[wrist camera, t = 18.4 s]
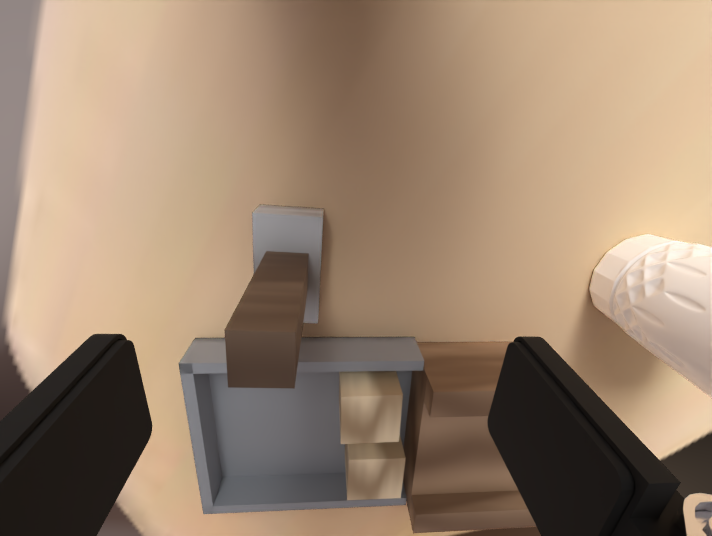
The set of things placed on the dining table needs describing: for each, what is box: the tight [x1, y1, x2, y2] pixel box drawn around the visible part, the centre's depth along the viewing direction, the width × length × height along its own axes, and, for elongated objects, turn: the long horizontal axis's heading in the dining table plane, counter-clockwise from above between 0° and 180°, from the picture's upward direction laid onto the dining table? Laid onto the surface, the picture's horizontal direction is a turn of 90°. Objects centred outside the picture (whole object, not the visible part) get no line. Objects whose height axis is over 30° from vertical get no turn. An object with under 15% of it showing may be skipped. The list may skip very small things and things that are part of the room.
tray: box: [179, 337, 424, 514], centre depth 27 cm, size 14×16×3 cm
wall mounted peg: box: [225, 205, 324, 389], centre depth 18 cm, size 7×4×12 cm, turn 175°
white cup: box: [589, 234, 712, 398], centre depth 22 cm, size 8×8×10 cm
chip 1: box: [339, 371, 403, 444], centre depth 25 cm, size 4×4×4 cm
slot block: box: [403, 342, 537, 533], centre depth 27 cm, size 13×10×6 cm
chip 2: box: [345, 435, 406, 500], centre depth 27 cm, size 4×4×4 cm
